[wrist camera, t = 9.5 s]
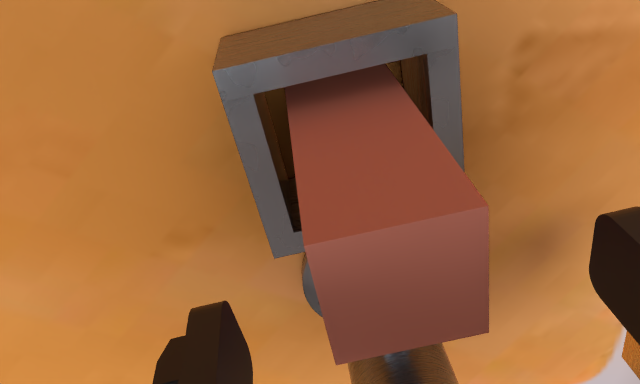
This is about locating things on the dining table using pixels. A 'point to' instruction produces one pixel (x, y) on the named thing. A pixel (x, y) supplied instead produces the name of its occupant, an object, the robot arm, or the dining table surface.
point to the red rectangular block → (385, 218)
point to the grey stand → (328, 60)
